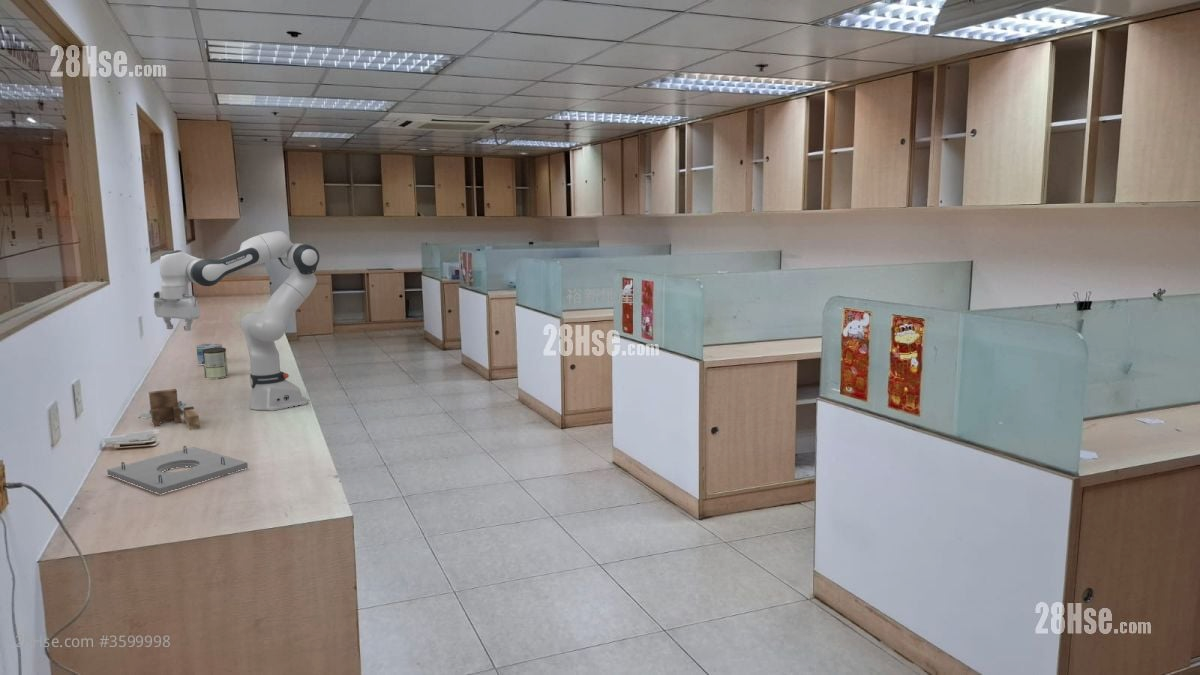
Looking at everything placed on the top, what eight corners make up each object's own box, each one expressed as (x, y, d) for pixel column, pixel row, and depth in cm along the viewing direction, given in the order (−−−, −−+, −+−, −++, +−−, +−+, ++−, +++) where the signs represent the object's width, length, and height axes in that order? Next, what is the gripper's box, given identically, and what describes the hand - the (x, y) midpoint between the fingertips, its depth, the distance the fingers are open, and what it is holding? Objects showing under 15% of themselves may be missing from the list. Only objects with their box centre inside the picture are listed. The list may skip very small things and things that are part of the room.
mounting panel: (193, 439, 250) (246, 455, 234) (194, 454, 250) (247, 470, 235) (106, 462, 227) (158, 480, 211) (108, 477, 228) (160, 497, 212)
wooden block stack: (178, 418, 292) (175, 388, 290) (181, 423, 286) (178, 392, 284) (151, 422, 287) (148, 391, 285) (154, 427, 280) (150, 396, 278)
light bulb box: (197, 365, 395) (195, 345, 393) (206, 363, 401) (204, 343, 399) (215, 366, 393) (214, 346, 391) (224, 363, 399) (222, 343, 398)
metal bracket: (159, 396, 304) (191, 398, 301) (164, 409, 307) (196, 411, 304) (133, 415, 292) (166, 417, 289) (138, 427, 294) (171, 430, 291)
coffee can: (200, 378, 364) (198, 349, 362) (221, 374, 373) (219, 346, 370) (211, 380, 359) (208, 351, 356) (232, 377, 367) (230, 348, 364)
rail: (194, 420, 289) (193, 406, 288) (199, 428, 279) (198, 413, 278) (184, 422, 287) (183, 407, 286) (189, 430, 277) (188, 414, 276)
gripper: (202, 294, 280) (205, 330, 283) (164, 291, 288) (167, 327, 291) (187, 295, 275) (190, 332, 277) (149, 293, 283) (152, 329, 285)
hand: (178, 329), depth 284 cm, fingers open, 8 cm apart
